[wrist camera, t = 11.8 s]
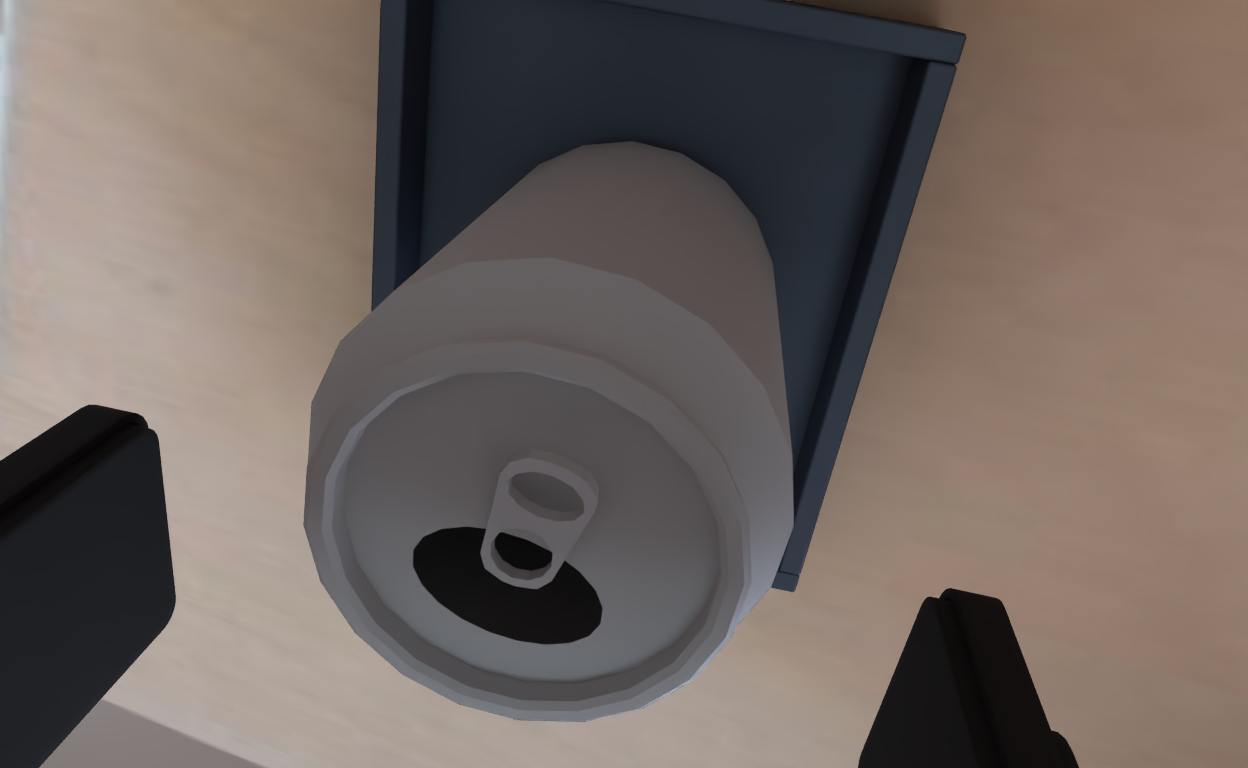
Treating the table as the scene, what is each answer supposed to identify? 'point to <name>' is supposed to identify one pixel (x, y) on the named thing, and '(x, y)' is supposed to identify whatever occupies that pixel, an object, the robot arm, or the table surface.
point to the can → (562, 443)
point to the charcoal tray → (682, 151)
